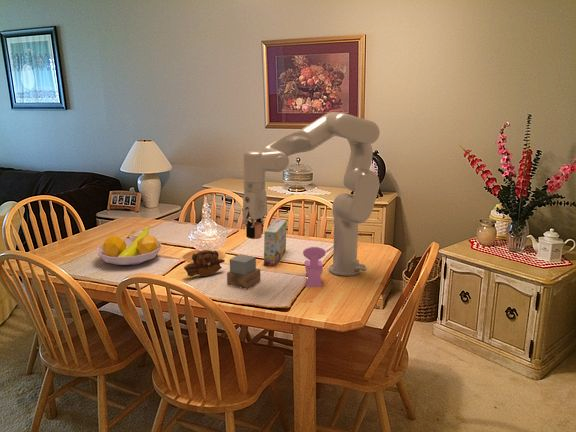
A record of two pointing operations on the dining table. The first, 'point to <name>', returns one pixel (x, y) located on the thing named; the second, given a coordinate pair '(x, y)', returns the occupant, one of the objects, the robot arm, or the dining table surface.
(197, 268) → the wooden carving
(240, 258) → the slate block
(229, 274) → the walnut slab
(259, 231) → the terracotta cylinder
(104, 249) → the fruit bowl
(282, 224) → the snack box
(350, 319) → the dining table surface
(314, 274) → the pink tall piece
